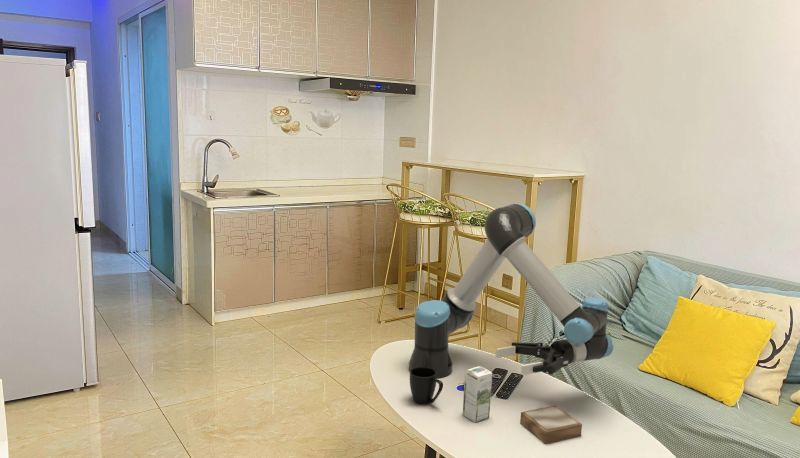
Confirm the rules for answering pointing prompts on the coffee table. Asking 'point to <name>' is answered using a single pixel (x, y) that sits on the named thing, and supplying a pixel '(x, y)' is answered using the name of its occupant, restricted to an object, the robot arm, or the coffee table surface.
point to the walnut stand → (550, 424)
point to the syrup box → (477, 393)
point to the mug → (424, 385)
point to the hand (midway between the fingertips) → (508, 361)
